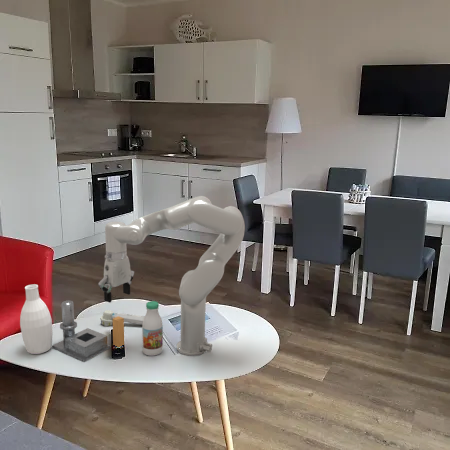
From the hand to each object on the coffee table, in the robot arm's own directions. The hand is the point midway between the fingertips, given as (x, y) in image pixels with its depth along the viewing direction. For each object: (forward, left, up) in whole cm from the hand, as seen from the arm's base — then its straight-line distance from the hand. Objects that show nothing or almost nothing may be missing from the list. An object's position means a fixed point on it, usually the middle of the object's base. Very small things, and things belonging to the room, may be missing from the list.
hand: (117, 297), depth 175 cm
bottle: (+23, +19, -20) cm, 36 cm away
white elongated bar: (+9, -16, -21) cm, 28 cm away
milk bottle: (-13, -5, -21) cm, 25 cm away
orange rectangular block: (0, 0, -20) cm, 20 cm away
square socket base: (+11, +9, -20) cm, 25 cm away
